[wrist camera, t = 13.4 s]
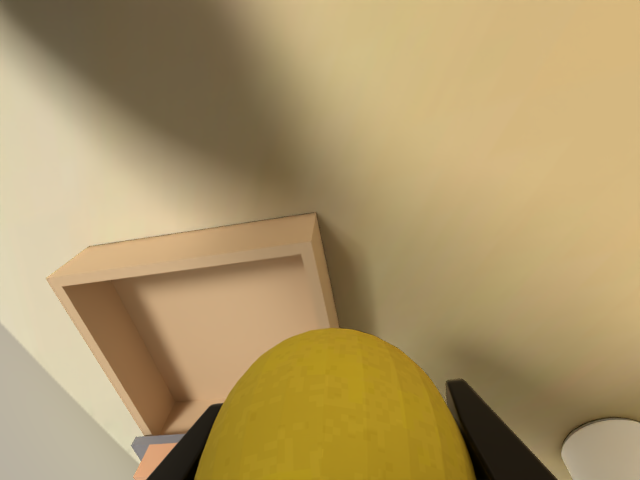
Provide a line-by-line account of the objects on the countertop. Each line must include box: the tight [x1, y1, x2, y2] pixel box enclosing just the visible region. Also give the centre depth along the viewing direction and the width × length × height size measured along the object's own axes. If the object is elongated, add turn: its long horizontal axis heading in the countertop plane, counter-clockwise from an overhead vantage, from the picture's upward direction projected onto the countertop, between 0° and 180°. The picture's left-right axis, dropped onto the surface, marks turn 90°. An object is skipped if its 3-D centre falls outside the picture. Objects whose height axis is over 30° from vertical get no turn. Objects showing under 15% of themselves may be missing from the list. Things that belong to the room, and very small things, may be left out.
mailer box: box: [46, 212, 340, 436], centre depth 22 cm, size 14×14×4 cm
